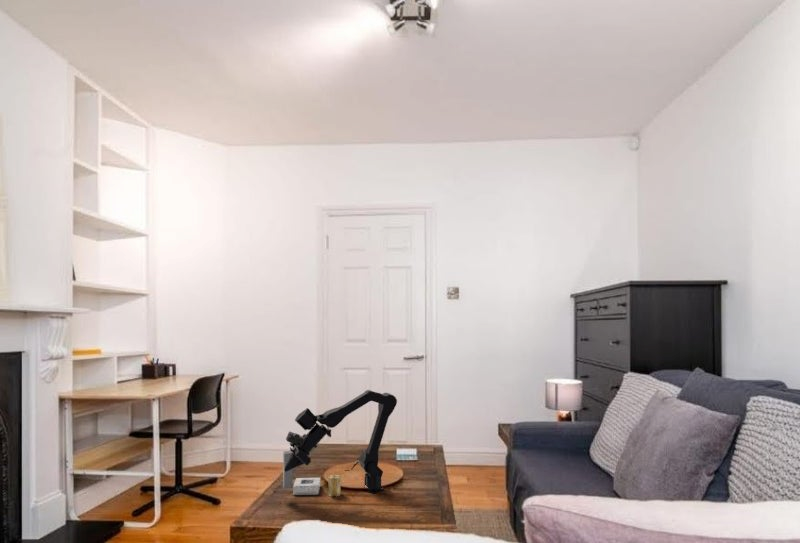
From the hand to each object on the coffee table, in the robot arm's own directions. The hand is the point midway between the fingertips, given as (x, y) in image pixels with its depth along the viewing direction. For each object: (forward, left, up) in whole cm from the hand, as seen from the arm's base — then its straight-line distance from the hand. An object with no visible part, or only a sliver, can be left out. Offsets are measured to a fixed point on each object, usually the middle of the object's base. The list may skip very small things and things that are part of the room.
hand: (284, 469), depth 201 cm
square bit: (-1, -1, -7) cm, 7 cm away
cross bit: (-10, -17, -12) cm, 23 cm away
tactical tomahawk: (+13, -52, -12) cm, 55 cm away
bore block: (+2, -13, -12) cm, 18 cm away
